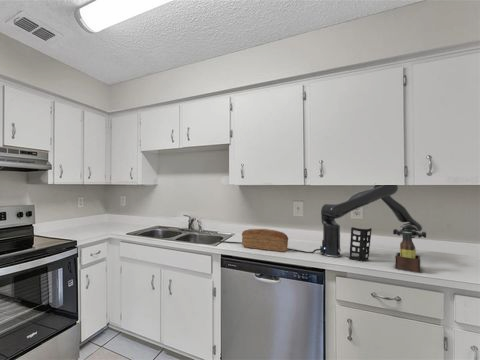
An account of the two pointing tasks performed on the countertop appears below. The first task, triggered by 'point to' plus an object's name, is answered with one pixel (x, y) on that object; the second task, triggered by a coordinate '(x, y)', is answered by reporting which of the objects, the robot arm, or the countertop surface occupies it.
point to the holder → (362, 242)
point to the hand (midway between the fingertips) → (408, 234)
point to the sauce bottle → (407, 246)
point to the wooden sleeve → (407, 263)
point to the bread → (265, 239)
